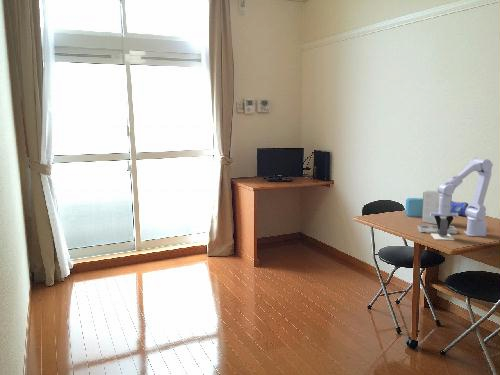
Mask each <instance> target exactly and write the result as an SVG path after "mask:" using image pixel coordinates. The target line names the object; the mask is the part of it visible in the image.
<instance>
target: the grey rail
mask: <svg viewBox="0 0 500 375" xmlns="http://www.w3.org/2000/svg"><path fill="white" fill-rule="evenodd" d="M418 229H419V230H418ZM417 230H418V231H419V233H420V232H427V233H426V234H431V233H433V234H438V228H437V224H432V225H431V224H417ZM447 234H450V235H452V234H454V235H457V234H458V229H457V228H456V227H455V226H454V225H449V228H448V229H447Z"/></svg>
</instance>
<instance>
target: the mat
mask: <svg viewBox="0 0 500 375" xmlns="http://www.w3.org/2000/svg"><path fill="white" fill-rule="evenodd" d="M430 235H431V237H433V239H434V240H436V241H437V240H438V241H455V238H454V237H453V236H452V234H448V233H447V236H443V235H439V234H438V233H430Z"/></svg>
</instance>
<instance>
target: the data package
mask: <svg viewBox="0 0 500 375" xmlns="http://www.w3.org/2000/svg"><path fill="white" fill-rule="evenodd" d="M422 208H423V197H408V198H406V199H405V215H406V216H407V217H410V218H411V217H422Z"/></svg>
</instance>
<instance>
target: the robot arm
mask: <svg viewBox="0 0 500 375" xmlns="http://www.w3.org/2000/svg"><path fill="white" fill-rule="evenodd" d="M493 166H494V164H493V161H491V160H490V159H489V158H486V159H485V158H479V157H473V158H472V159H471V160H469V161H468V165H466V166H465V167H464V168H463V169H462V170H461V171H460V172H459V173H458V174H454V175H452V176H451V177H450V178H449V179H448V180H447V181H445V182H444V183H441V184H439V186H438V188H437V191H438V192H439V196H440V198H439V212H430V216H434V217H435V220H436V222H437V224H436V225H437V228H438V229H440V221H441V218H440V216H443V217H446V219H447V220H448V228H449V226H451V223H452V222H453V221H454V218H459V215H458V213H450V202H451V195H452V196H453V194H454V193H455V192H454V191H455V190H456V188H458V187H459V186H460V185H461V184H462V183H463V180H464V179H465V178H467V177H468V176H470V174H472V173H473V172H477V174H478V181H477V184H476V186H475V188H476V189H475V191H474V195H473V198H472V202H470V203H468V204H469V205H468V207H467V209H466V210H465V214H466V216H465V217H466V219H467V223H466V231H465V230H464V231H463V232H464V233H465V235H467V236H469V237H487V221H486V216H487V215H486V214H487V213H486V212H487V207H486V206H485V205H484V202H485V200H486V195H487V191H488V188H489V185H490V181H491V177H492V169H493ZM448 228H447V229H448Z"/></svg>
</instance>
